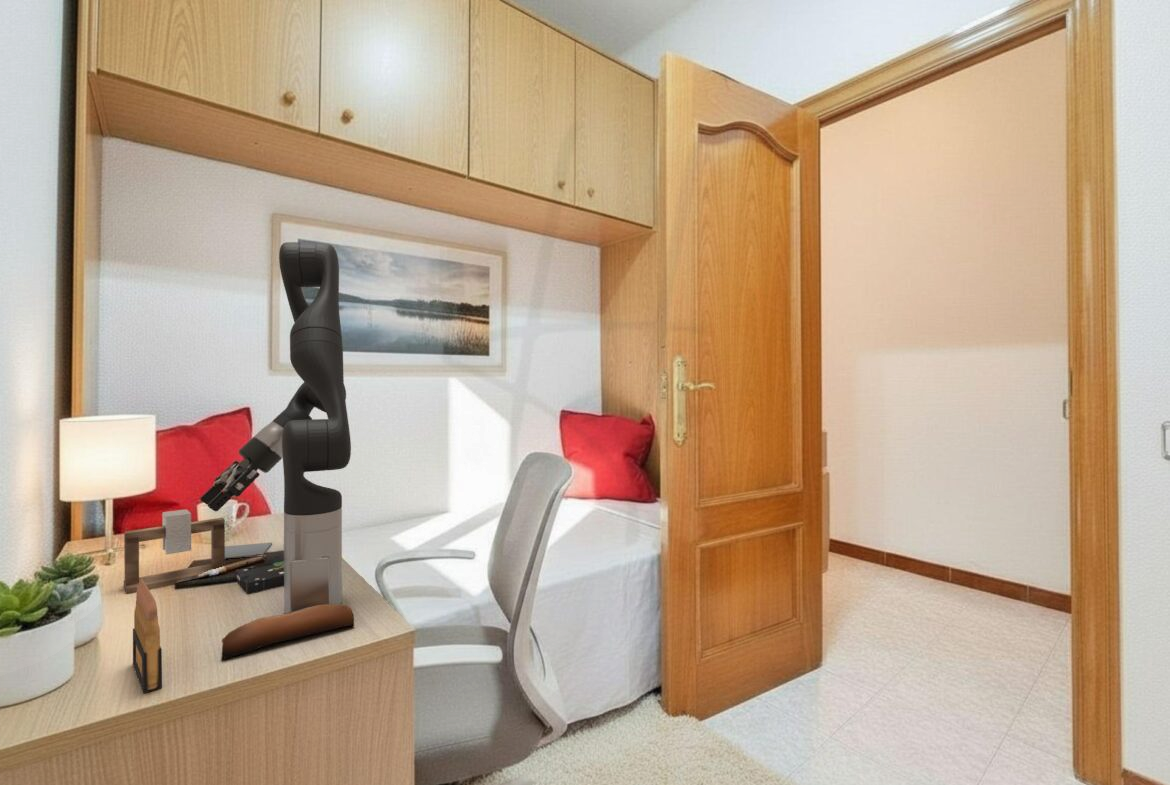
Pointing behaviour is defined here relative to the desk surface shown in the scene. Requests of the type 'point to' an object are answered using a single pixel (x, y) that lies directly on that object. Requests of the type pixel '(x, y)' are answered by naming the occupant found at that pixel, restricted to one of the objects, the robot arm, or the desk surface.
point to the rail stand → (172, 577)
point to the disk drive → (261, 577)
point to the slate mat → (246, 550)
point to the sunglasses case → (286, 627)
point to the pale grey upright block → (177, 531)
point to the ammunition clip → (147, 640)
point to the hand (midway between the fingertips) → (207, 505)
